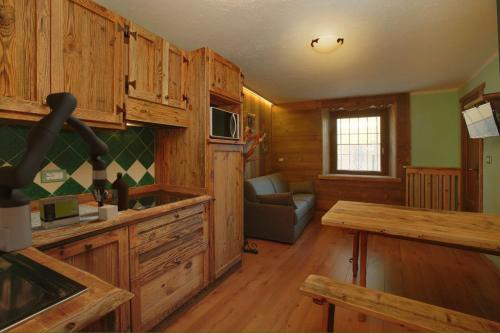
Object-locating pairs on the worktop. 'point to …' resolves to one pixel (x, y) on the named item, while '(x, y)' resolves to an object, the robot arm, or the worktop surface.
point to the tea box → (59, 211)
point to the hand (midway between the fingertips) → (100, 207)
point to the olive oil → (120, 193)
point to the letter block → (107, 212)
